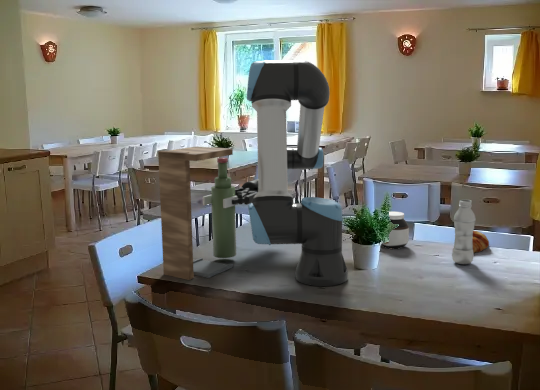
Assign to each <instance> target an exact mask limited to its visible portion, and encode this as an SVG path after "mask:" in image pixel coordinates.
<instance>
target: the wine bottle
mask: <svg viewBox="0 0 540 390" xmlns="http://www.w3.org/2000/svg"><path fill="white" fill-rule="evenodd" d="M216 158H217V160H216V161H217V171H218V172H217V176H216V177H214V186H211V187H210V188H211V191H210V193H211V194H212V204H211V218H212V219H211V220H212V221H211V223H212V224H211V225H212V254H213V257H215V258H219V259H230V258H234V257H236V256H237V232H236V230H237V221H236V220H237V219H236V218H237V217H236V205H234V206H231V207H227V208H223V199H226V198H230V197H233V196H235V189H236V187H235V186H234V185H232V177H231V176H228V160H229V158H228V157H216ZM211 194H210V195H211Z"/></svg>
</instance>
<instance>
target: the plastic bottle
mask: <svg viewBox="0 0 540 390" xmlns="http://www.w3.org/2000/svg"><path fill="white" fill-rule="evenodd" d="M472 201H473V200H470V199H459V201H458V202H459V203H458V206H459V207H458V209H457V210H456V212H455V214H454V215H453V216H454V217H453V222H454V223H453V225H454V243H453V248H452V253H451V257H452V260H453V262H454V263H455V264H459V265H470V264H471V263H472V262H473V261H474V254H475V253H473V243H472V238H473V236H472V235H473V230H475V223H476V214H475V213H474V211H473V209H471V208H472V206H473V205H472Z"/></svg>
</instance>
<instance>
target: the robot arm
mask: <svg viewBox="0 0 540 390" xmlns="http://www.w3.org/2000/svg"><path fill="white" fill-rule="evenodd" d="M246 89H247V90H246V100H247V101H249V102H251V108H252V109H253V110H255V111H256V129H257V131H256V132H257V133H256V134H257V139H256V140H257V141H256V142H257V144H256V145H257V178H256V179H253V180H249V181H246V182H244V183H243V184H242V186H241V187H237V188H235V196H233V197H230V198H226V199H223V208H227V207H231V206H234V205H235V206H238V205H243V204H244V205H245V206H246V205H247V207H248V215H249V222H250V228H251V235H252V240H253V241H254V243H255V244H257V245H269V246H271V245H301V252H300V256H299V258H298V262H297V265H296V268H295V280H296V281H298V282H299V283H301V284H305V285H308V286H315V287H331V286H332V287H333V286H338V285H341V284H343V283H346V282H347V281H348V280H349V279H348V278H349V277H348V276H349V274H348V268H347V264H346V261H345V258H344V256H343V255H344V254H343V221H344V218H343V208H342V205H341V204H340V203H339V202H337V201H336V200H333V199H329V198H322V197H317V196H316V197H315V196H308V197H307V196H305V197H303V198H301V199H300V202H298V203H294V196H293V195H292V194H291V193H290V192H289V184H288V180H289V179H288V170H315V169H316V170H319V169H321V168H323V167H324V150H323V148H322V147H320V143H321V136H322V135H321V134H322V129H323V128H322V127H323V121H324V114H325V113H324V112H325V108H326V106H327V105H328V104H329V101H330V94H331V93H330V86H329V82H328V80H327V78H326V76H325V75H324V73H323V72H322V70H321V68H318V67H317V66H316V65H315V64H313V63H311V61H307V60H303V59H298V60H294V59H292V60H291V59H290V60H289V59H288V60H287V59H286V60H282V59H281V60H273V59H271V60H268V59H265V60H256V61H253V62H252V63H251V64H250V67H249V71H248V79H247V88H246ZM292 101H298V104H299V105H300V106H299V118H298V120H299V121H298V132H297V142H296V147H288V144H287V143H288V142H287V141H288V139H287V138H288V137H287V111H288V110H289V108H291V106H292ZM208 205H212V194H211V192H210V193H209V194H208V195H204V196H202V206H208Z"/></svg>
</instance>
